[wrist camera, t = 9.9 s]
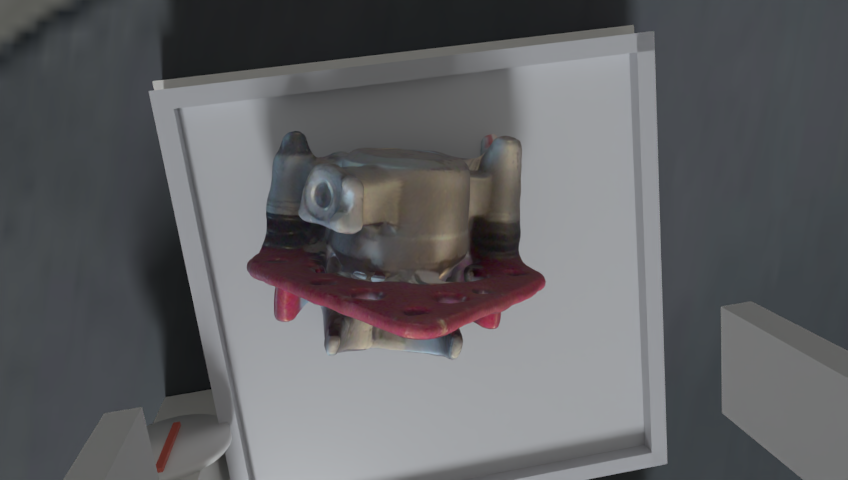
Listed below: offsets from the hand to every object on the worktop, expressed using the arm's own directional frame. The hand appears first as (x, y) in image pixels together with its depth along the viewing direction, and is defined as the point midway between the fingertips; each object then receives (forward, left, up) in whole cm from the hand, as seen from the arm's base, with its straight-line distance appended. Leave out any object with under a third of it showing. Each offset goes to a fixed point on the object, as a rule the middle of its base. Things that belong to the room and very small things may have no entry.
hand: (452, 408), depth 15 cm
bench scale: (0, -3, -20) cm, 20 cm away
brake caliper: (0, 0, -16) cm, 16 cm away
